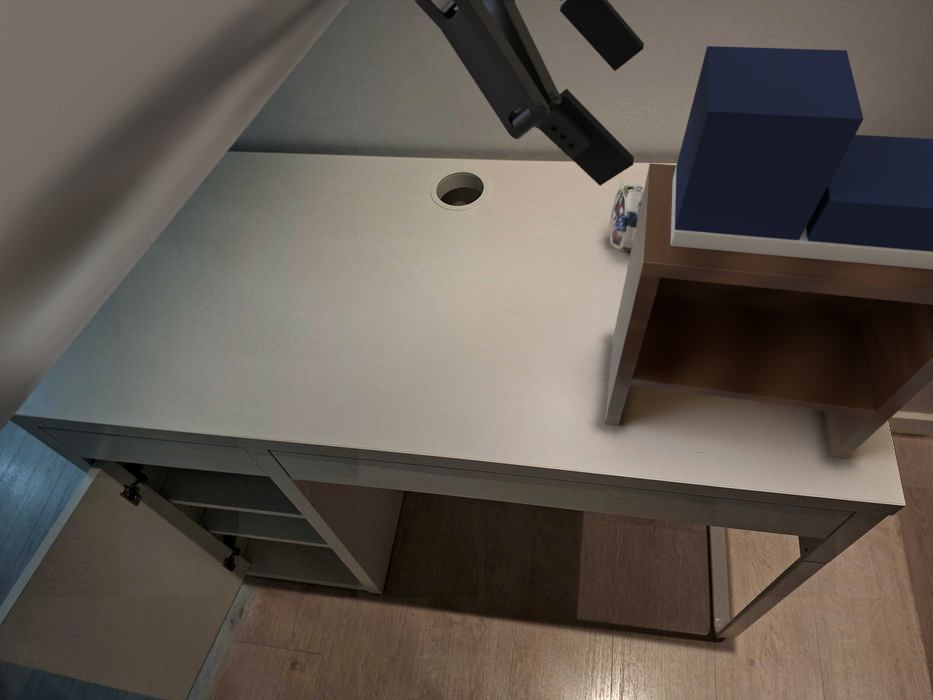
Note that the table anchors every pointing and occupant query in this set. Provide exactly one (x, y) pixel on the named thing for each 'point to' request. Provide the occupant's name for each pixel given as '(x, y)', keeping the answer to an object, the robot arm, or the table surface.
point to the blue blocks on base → (797, 165)
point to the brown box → (769, 328)
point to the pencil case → (625, 216)
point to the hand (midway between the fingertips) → (623, 110)
